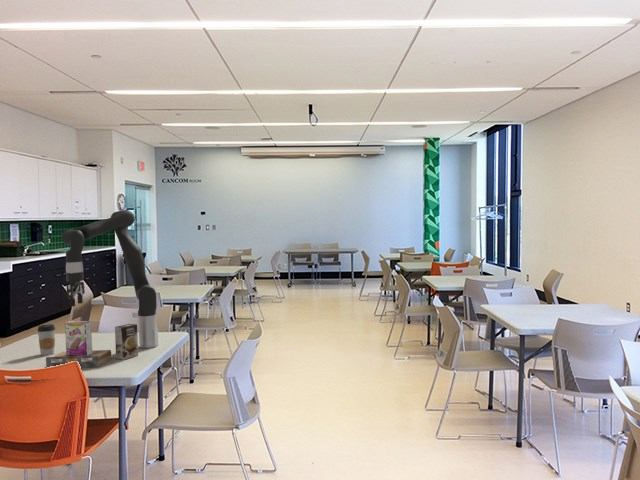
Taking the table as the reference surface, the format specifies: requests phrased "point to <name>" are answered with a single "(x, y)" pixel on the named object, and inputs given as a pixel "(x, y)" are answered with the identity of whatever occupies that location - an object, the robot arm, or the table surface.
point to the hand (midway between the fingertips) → (76, 304)
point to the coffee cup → (46, 339)
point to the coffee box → (126, 341)
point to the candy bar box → (78, 338)
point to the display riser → (81, 359)
